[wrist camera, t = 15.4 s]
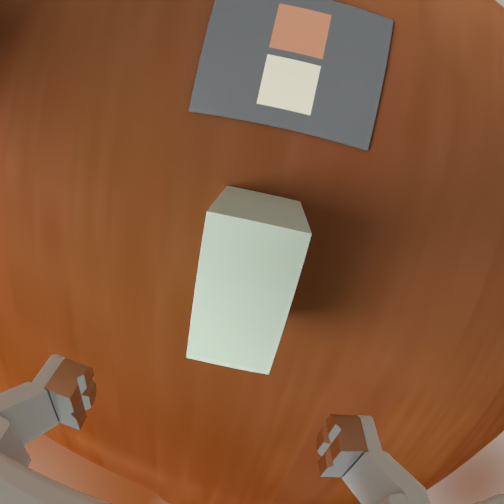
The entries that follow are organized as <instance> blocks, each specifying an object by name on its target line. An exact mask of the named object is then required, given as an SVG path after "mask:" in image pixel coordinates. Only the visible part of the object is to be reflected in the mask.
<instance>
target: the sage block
mask: <svg viewBox="0 0 504 504" xmlns="http://www.w3.org/2000/svg"><path fill="white" fill-rule="evenodd" d="M311 235H312V233H311V230H310V227H309V224H308V222H307V219H306V216H305V213H304V211H303V208H302V205H301V202H300V201H296V200H292V199H288V198H283V197H279V196H274V195H270V194H265V193H261V192H256V191H251V190H247V189H242V188H237V187H232V186H226V187H225V189H224V190H223V191H222V192H221V194H220V195H219V196H218V198H217V199H216V200H215V201H214V203H213V204H212V205H211V206H210V208H209V209H208V210H207V213H206V219H205V225H204V231H203V237H202V244H201V250H200V257H199V264H198V270H197V277H196V284H195V292H194V299H193V306H192V314H191V322H190V330H189V338H188V347H187V355H186V358H190V359H194V360H199V361H203V362H207V363H212V364H216V365H221V366H226V367H231V368H236V369H241V370H246V371H251V372H256V373H262V374H268V375H269V372H270V369H271V366H272V363H273V360H274V357H275V354H276V351H277V348H278V345H279V342H280V339H281V335H282V332H283V329H284V326H285V323H286V320H287V316H288V313H289V310H290V307H291V304H292V300H293V297H294V294H295V290H296V287H297V284H298V280H299V277H300V274H301V270H302V267H303V263H304V260H305V256H306V253H307V249H308V246H309V242H310V239H311Z"/></svg>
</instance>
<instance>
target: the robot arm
mask: <svg viewBox="0 0 504 504" xmlns="http://www.w3.org/2000/svg"><path fill="white" fill-rule="evenodd" d="M93 376H94V373H93V368H91V367H88V366H85V365H83V364H80V363H78V362H75V361H72V360H70V359H67V358H65V357H62V356H60V355H57V354H53V355H51V356H50V358H49V359H48V360H47V362H46V363H45V365H44V366H43V367H42V369H41V370H40V371H39V373H38V374H37V376H36V377H35V378H34V380H33V381H32V383H30V382H26V383H23V384H21V385H19V386H16V387H14V388H11V389H9V390H6V391H4V392H2V393H0V504H112V503H109V502H106V501H103V500H100V499H97V498H95V497H92V496H90V495H87V494H84V493H82V492H80V491H77V490H75V489H72V488H70V487H68V486H65V485H63V484H61V483H59V482H57V481H54V480H52V479H50V478H48V477H46V476H44V475H42V474H40V473H38V472H36V471H34V470H32V469H30V468H28V466H29V464H30V462H31V458H30V456H29V454H28V453H27V451H26V449H25V448H24V446H25V445H26V444H28V443H29V442H31V441H32V440H34V439H36V438H37V437H39V436H40V435H42V434H44V433H45V432H47V431H48V430H50V429H52V428H53V427H55V426H56V425H58V424H59V422H60V423H62V424H65V425H67V426H70V427H73V428H75V429H78V430H80V429H81V427H82V425H83V423H84V421H85V419H86V417H87V416H86V412H85V410H87V409H89V408H91V407H92V405H93V403H94V400H95V396H96V384H95V382H94V381H93V380H92V377H93ZM326 423H327V425H326V426H324V427H322V428H321V430H320V432H319V433H318V437H317V452H318V453H319V454H320V455H321V456H322V457H321V458H320V460H319V461H318V464H319V472H320V477H342V479H343V480H344V482H345V483H346V484H347V486H348V487H349V488H350V490H351V491H352V492H353V494H354V495H355V496H356V497H357V499H358V500H359V501H360V503H361V504H430V502H429V498H428V495H427V491H426V488H425V487H424V486H423V485H422V484H420V483H419V482H418V481H417V480H416V479H415V478H414V477H413V476H412V475H411V474H410V473H408V472H407V471H406V470H405V469H404V468H403V467H402V466H401V465H400V464H399V463H398V462H397V461H396V460H395V459H393V458H392V457H391V456H390V455H389V454H388V453H387V452H386V451H382V448H381V445H380V441H379V438H378V434H377V431H376V427H375V424H374V420H373V418H372V417H371V416H357V415H337V414H331V415H330V416H329V417H328V418H327V420H326ZM474 504H504V494H498V495H495V496H492V497H490V498H488V499H485V500H482V501H479V502H477V503H474Z"/></svg>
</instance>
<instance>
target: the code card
mask: <svg viewBox="0 0 504 504" xmlns="http://www.w3.org/2000/svg"><path fill="white" fill-rule="evenodd" d="M393 22H394V20H391V19H388V18H386V17H383V16H380V15H378V14H375V13H372V12H369V11H366V10H363V9H360V8H357V7H354V6H350V5H347V4H344V3H340V2H337V1H333V0H215V1H214V5H213V8H212V12H211V16H210V20H209V23H208V27H207V31H206V35H205V39H204V43H203V47H202V51H201V55H200V60H199V64H198V68H197V73H196V77H195V82H194V87H193V92H192V96H191V101H190V106H189V112H196V113H203V114H209V115H216V116H222V117H228V118H233V119H239V120H244V121H250V122H255V123H260V124H264V125H269V126H274V127H278V128H283V129H287V130H292V131H296V132H300V133H304V134H308V135H312V136H316V137H320V138H324V139H328V140H331V141H335V142H339V143H342V144H346V145H349V146H353V147H356V148H359V149H363V150H366V151H368V148H369V144H370V139H371V135H372V131H373V127H374V122H375V118H376V113H377V109H378V104H379V100H380V95H381V90H382V85H383V80H384V75H385V69H386V64H387V58H388V53H389V47H390V41H391V35H392V28H393Z"/></svg>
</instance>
